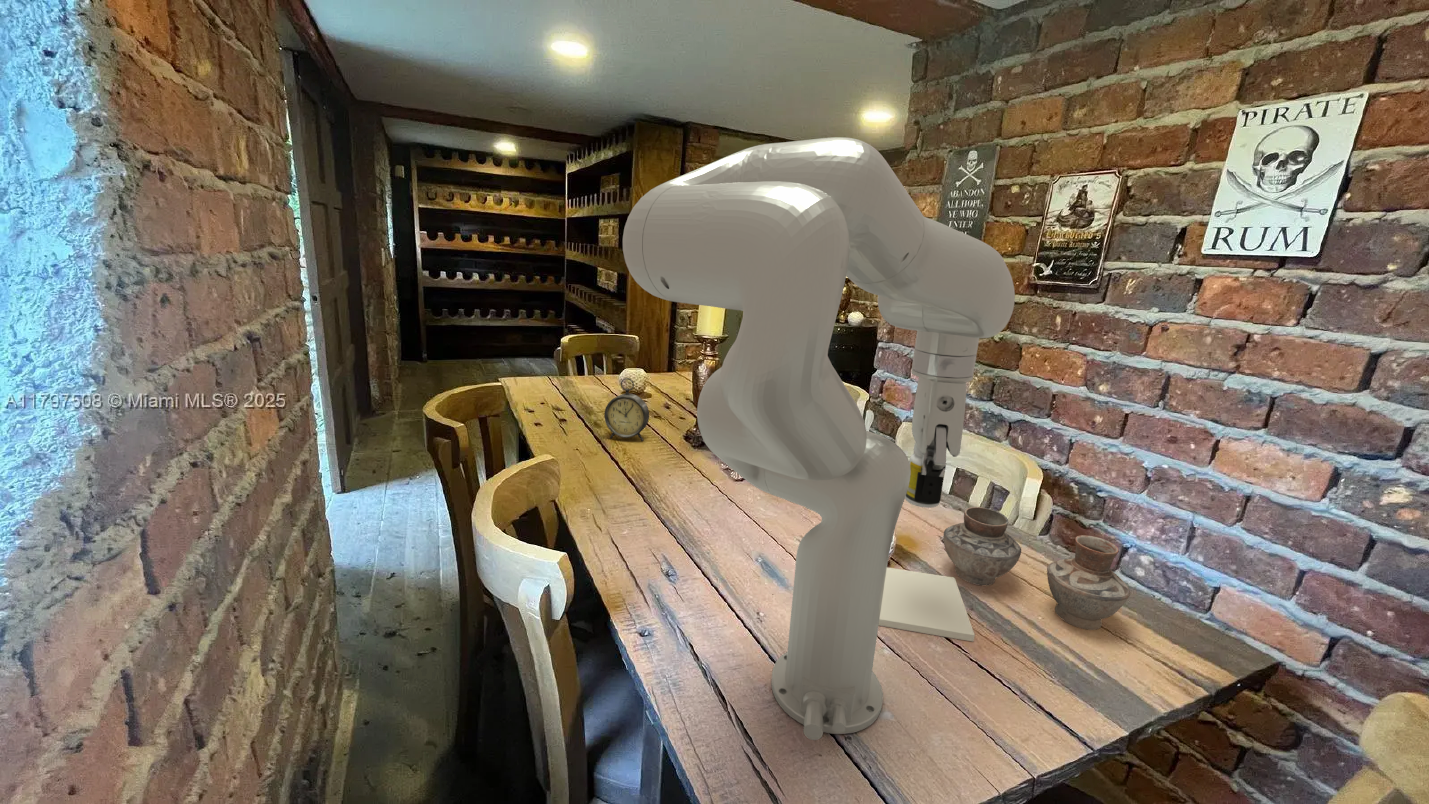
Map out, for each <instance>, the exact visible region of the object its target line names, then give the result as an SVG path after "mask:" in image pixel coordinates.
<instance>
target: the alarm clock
mask: <svg viewBox="0 0 1429 804" xmlns="http://www.w3.org/2000/svg"><path fill="white" fill-rule="evenodd" d="M625 380H629V381H630V382H631V383H632V387H631V388H630V389H629V388H624V387H623V382H624V381H625ZM620 386H621V388H622V390H625V393H622V394H620V395H618V396H616V397H614V398H612V399H611V400H609V402H608V403H607V405H606V406H605V409H604V417H603V418H604V421H605V424H606V427H607V428H608V430H609V431H610V432H611V435H610V436H609V439H612V438H613V436H615V435H616V436H618V437H620V438H624V439H625V438H626V439H628V438H633V437H636V436H638V438H639V439H640V440H641V442H643V441H644V438H643V436H642V435H641V432H642V431H643V430H644V429H645V428H646V427H647V425H648V424H649V420H650V411H649V408H648V405H647V403H646V402H645V400H644V399H642V398H641V397H639V395H636V394H633V393H630V391H631V390H633V389H634V386H635V384H634V380H632V379H631V378H628V377H625V378H623V379H621V382H620Z"/></svg>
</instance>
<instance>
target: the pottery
mask: <svg viewBox="0 0 1429 804" xmlns="http://www.w3.org/2000/svg"><path fill="white" fill-rule="evenodd" d="M1008 525H1009V518H1007V516H1006V515H1005V514H1003V513H1001V512H999V511H997V510H994V509H991V508H988V507H982V506H971V507H968V508H966V509H965V510H964V514H963V522H961V523H956V524H953V525H951V526H948V527H946V528H945V529H944V530H943V537H942V538H943V539H942V541H943V548H944V549H945V552H946V554H947V556H948V558H949V559H950V561H951V562H952V564H953V565H955V570H954V571H955V573H956V575H957V576H958V577H959V578H960V579H962V580H964V581H965V582H968V583H969V584H972V585H976V586H982V585H986V586H992V585H993V584H994V583H995V581H996V579H998V578H999V577H1002V576H1004V575H1005V574H1007V573H1008V572H1010V571H1011V570H1012V569H1013V568H1014V567H1015V565H1016V564H1017V563H1018V562H1019V559H1020V558H1021V554H1022V547H1021V546H1020V544H1019V542H1017V541H1016V540H1015V539H1014V538H1013V537H1012V536H1011V535H1010V534H1008V533H1007V532H1006V530H1007V528H1008ZM1074 553H1075V555H1074V557H1070V558H1063V559H1062V558H1061V559H1059V560H1056V561H1052V562H1051V563H1049V564H1048V566H1047V567H1046V570H1047V571H1046V574H1047V582H1048V587H1049V590H1050V593H1051V595H1052V598H1053V599H1054V600H1055V602H1056V606H1055V607H1054V611H1055V613H1056V615H1057V617H1059V618H1060V619H1062V620H1063V621H1064V622H1065V623H1066V624H1069V625H1071V626H1073V627H1076V628H1078V627H1079V629H1083V630H1089V631H1092V630H1093V631H1094V630H1099V629H1100V628H1101V627H1102V624H1103V622H1102V620H1104V619H1106V618H1109V617H1112V616H1114V615H1115V614H1116V613H1117V612H1118V611H1119V610H1121V609H1122V607H1123V606H1124V605H1125V603H1126V602H1127V600H1129V598H1130V596H1131V591H1130V588H1129V586H1128V585H1127V584H1126V582H1125V581H1123V579H1122V578H1121V577H1120V576H1119V575H1117V574H1116V573H1115V572H1114V571H1113V570H1111V569H1110V568H1111V566H1112V564H1113V561H1114V559H1115V558H1116V556H1118V555H1117V554H1118V553H1119V548H1118V546H1117V545H1115V544H1114V543H1112V542H1110V541H1109V540H1106V539H1104V538H1101V537H1099V536H1098V537H1097V536H1092V535H1085V534H1083V535H1082V534H1081V535H1077V536H1076V537H1075V552H1074Z"/></svg>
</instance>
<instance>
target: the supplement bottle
mask: <svg viewBox="0 0 1429 804" xmlns="http://www.w3.org/2000/svg"><path fill="white" fill-rule="evenodd" d="M927 449H928V451H931V452H934V448H932V447H928V448H927ZM913 453H914V454H913ZM913 453H912V454H911V455H910V457H909V458H908V460H909V463H910V469H911V475H910V482H909V486H908V490H907V493H906V496H905V499H904V500H906V502H908V503H909V504H911V505H912V506H915V507H918V508H919V507H920V508H924V509H925V508H928V509H929V508H931V509H932V508H935V507H938V506H940V503H941V501H940V502H939V503H938V504H935V503H926V502H918V501H916V500H915V498H914V496H915V489H916V482H917V476H918V472H921V463H922V452H921V451H920V450H919V448H918V446H917V444H916V442H915V441H914V445H913ZM929 460H933V457H930V456H928V461H927V464H928V462H929ZM946 467H947V464H946V465H945V469H947V468H946ZM945 473H946V470H945V471H944V475H945ZM943 481H944V479H943ZM943 486H944V484H943V485H942V487H943ZM942 491H943V490H942ZM942 491H941V493H942ZM941 498H942V497H941ZM941 498H940V500H941Z"/></svg>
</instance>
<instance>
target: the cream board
mask: <svg viewBox="0 0 1429 804" xmlns="http://www.w3.org/2000/svg"><path fill="white" fill-rule="evenodd" d="M959 589H960V588H959V587H958V584H957V581H956V577H953V576H945V575H938V574H933V573H926V572H920V571H914V570H913V571H912V570H907V569H906V570H905V569H900V568H893V567H889V566H887V570H886V577H885V584H884V591H883V598H882V605H881V612H880V619H879V626H881V627H886V628H892V629H898V630H904V631H908V632H909V631H911V632H913V633H914V632H915V633H921V634H926V635H932V636H939V637H944V638H950V639H956V640H962V641H967V642H973V643H974V642H975V641H974V640H975V637H976V636H975V632H974V629H973V627H972V623H971V621H970V618H969V615H968V612H967V609H966V606H965V604H964V601H963V598H962V595H961V592H960V590H959ZM879 626H878V627H879Z"/></svg>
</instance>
